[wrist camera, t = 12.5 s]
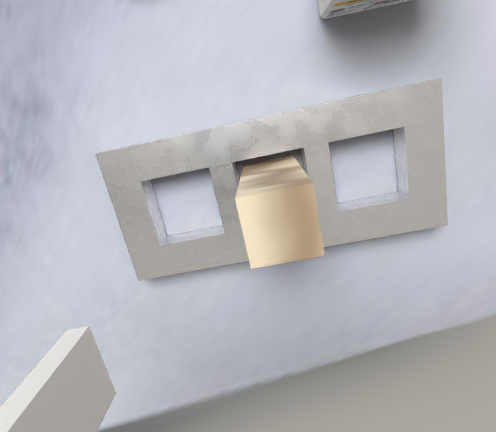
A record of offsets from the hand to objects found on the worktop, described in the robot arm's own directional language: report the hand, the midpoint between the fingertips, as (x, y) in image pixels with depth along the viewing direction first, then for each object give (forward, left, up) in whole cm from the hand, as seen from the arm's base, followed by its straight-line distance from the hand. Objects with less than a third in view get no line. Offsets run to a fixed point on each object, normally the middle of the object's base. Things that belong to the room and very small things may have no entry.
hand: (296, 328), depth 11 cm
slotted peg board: (0, 0, -22) cm, 22 cm away
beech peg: (0, 0, -22) cm, 22 cm away
